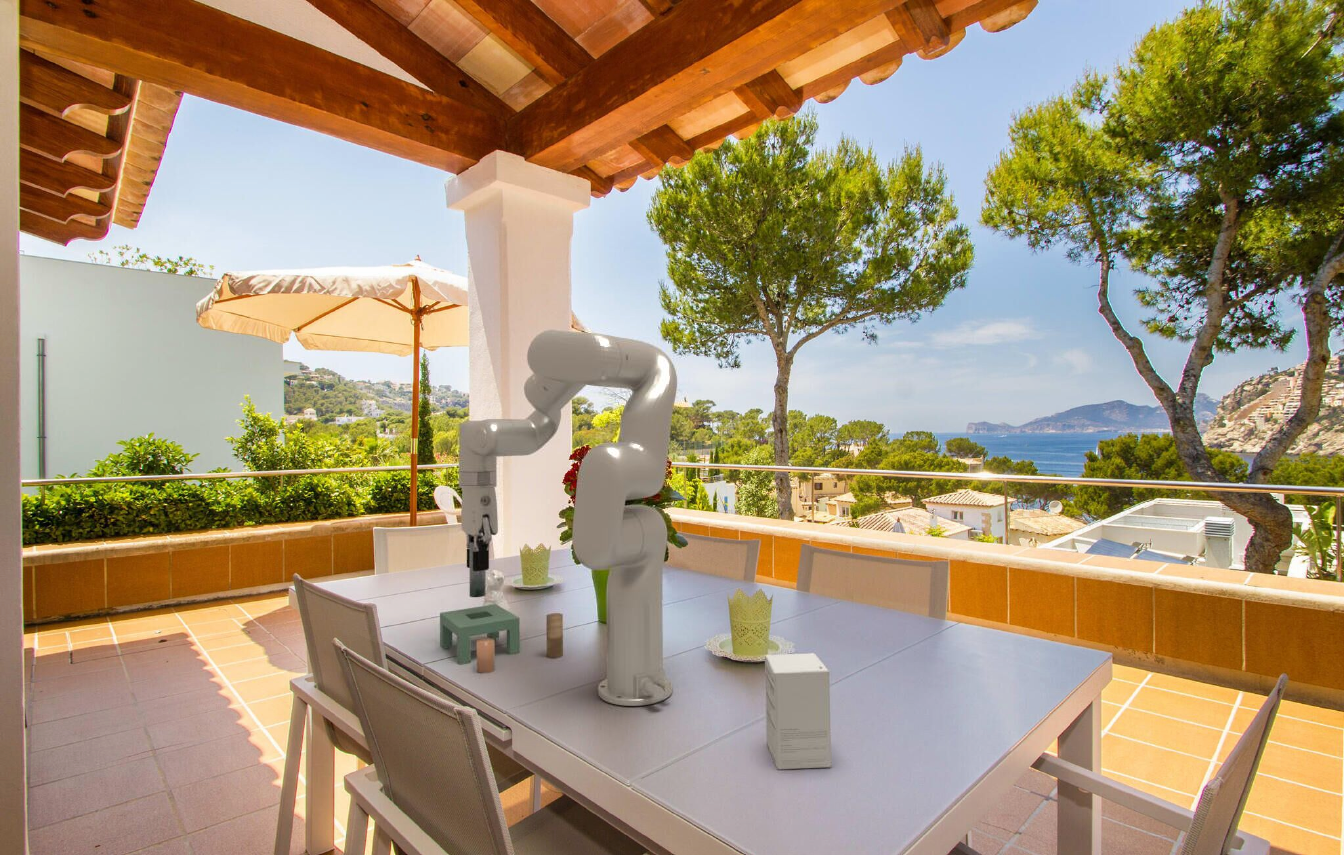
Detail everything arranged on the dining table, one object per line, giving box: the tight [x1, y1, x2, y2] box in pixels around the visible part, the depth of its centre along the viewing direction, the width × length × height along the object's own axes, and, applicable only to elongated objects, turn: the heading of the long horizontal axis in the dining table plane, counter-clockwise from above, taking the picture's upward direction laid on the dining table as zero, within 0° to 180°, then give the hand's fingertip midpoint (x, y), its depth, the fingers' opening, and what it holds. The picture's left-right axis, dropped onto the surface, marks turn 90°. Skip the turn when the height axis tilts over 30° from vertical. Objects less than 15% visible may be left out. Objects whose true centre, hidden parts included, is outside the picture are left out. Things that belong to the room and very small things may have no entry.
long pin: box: [469, 541, 487, 598], centre depth 136 cm, size 3×3×11 cm
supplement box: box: [764, 652, 832, 770], centre depth 88 cm, size 7×7×13 cm
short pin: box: [476, 637, 496, 674], centre depth 123 cm, size 3×3×6 cm
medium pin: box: [545, 612, 564, 659], centre depth 131 cm, size 3×3×8 cm
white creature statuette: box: [482, 569, 511, 613], centre depth 158 cm, size 10×9×12 cm
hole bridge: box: [439, 604, 521, 666], centre depth 135 cm, size 14×12×7 cm
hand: (477, 567), depth 136 cm, fingers closed on long pin, 3 cm apart
